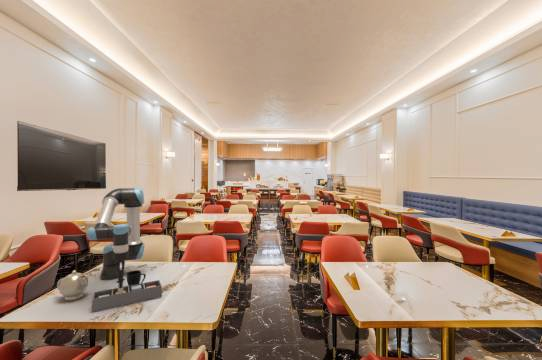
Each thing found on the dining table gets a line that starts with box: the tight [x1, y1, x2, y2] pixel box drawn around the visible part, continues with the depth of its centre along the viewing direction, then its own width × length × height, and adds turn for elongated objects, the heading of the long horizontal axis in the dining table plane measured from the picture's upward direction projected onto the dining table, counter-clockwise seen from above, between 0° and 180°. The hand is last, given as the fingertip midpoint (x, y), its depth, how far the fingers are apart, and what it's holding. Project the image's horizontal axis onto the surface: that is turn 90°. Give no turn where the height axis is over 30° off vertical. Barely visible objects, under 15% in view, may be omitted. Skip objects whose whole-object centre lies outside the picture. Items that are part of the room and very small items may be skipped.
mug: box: [126, 270, 147, 286], centre depth 164 cm, size 8×12×10 cm
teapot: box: [56, 269, 89, 302], centre depth 149 cm, size 18×14×16 cm
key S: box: [131, 285, 142, 291], centre depth 148 cm, size 5×5×4 cm
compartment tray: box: [91, 279, 163, 313], centre depth 146 cm, size 10×34×7 cm, turn 121°
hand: (120, 292), depth 143 cm, fingers closed
